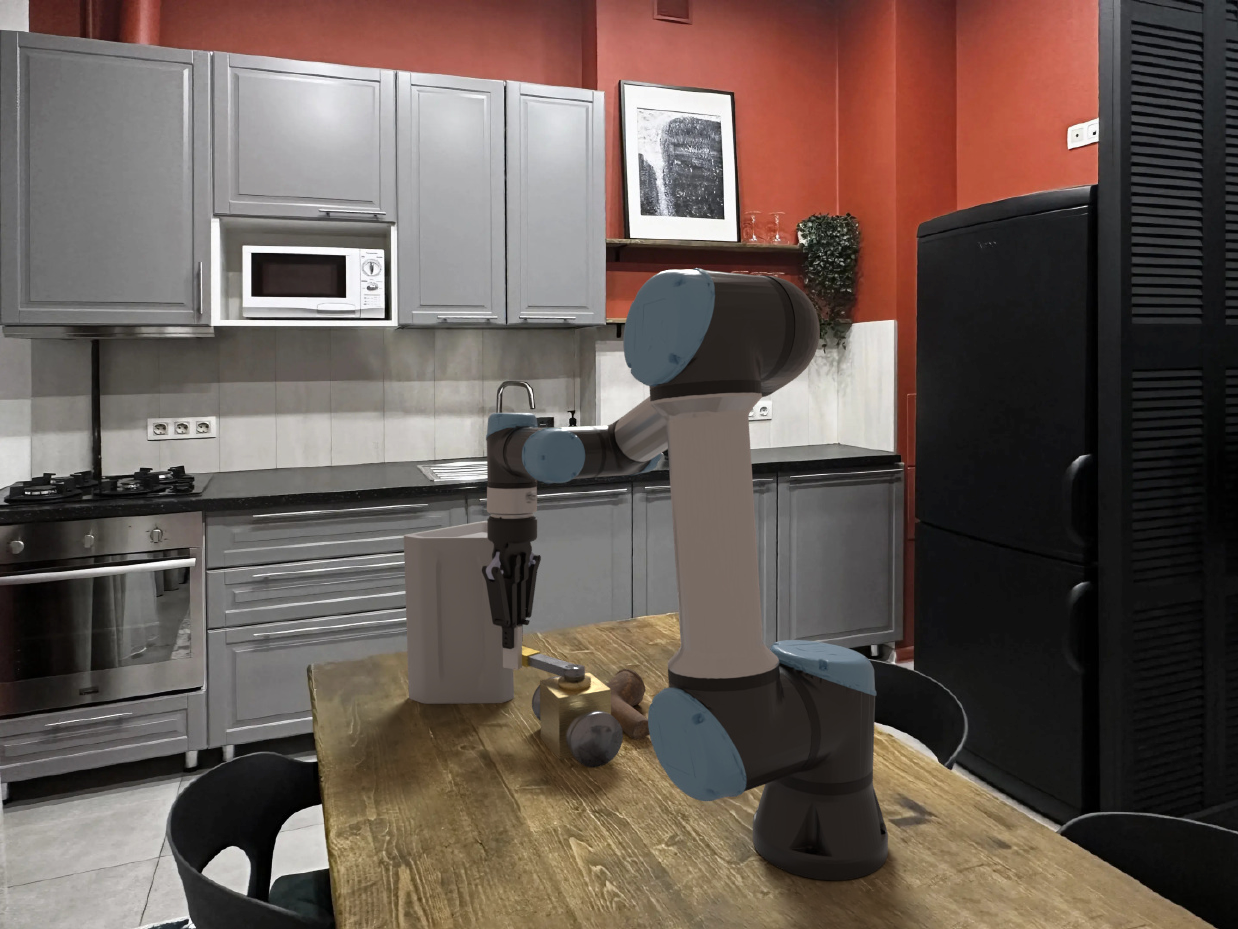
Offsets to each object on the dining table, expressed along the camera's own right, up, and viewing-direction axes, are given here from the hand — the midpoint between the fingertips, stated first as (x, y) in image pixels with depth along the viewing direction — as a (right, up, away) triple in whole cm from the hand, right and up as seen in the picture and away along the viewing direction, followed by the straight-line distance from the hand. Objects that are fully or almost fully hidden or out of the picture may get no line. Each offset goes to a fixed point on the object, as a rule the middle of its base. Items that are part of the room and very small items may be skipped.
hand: (512, 667), depth 133 cm
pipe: (+18, -10, +5) cm, 21 cm away
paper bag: (-8, -8, +18) cm, 21 cm away
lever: (+5, 0, -2) cm, 5 cm away
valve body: (+10, -10, -5) cm, 15 cm away
